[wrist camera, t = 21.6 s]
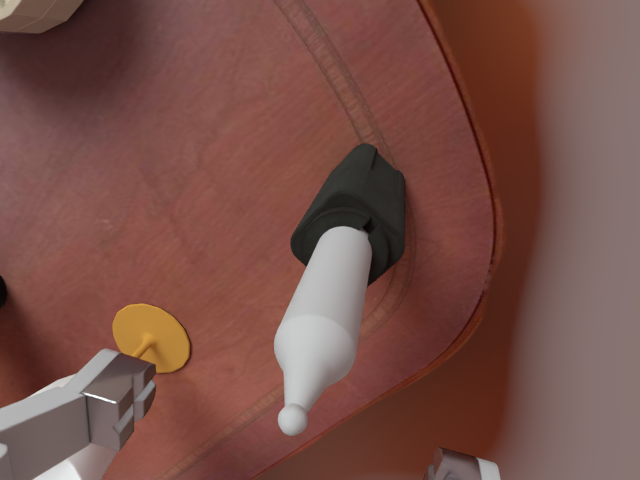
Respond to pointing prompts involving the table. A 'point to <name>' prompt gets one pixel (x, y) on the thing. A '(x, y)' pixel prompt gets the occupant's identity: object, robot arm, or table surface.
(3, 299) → the cup
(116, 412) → the robot arm
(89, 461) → the cup
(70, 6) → the bowl
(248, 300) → the table surface
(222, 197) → the table surface
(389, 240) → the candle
